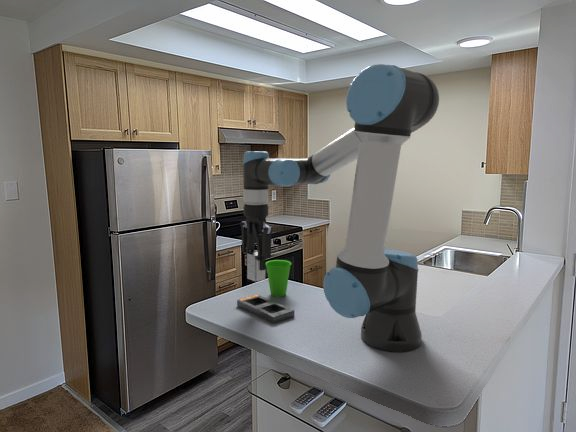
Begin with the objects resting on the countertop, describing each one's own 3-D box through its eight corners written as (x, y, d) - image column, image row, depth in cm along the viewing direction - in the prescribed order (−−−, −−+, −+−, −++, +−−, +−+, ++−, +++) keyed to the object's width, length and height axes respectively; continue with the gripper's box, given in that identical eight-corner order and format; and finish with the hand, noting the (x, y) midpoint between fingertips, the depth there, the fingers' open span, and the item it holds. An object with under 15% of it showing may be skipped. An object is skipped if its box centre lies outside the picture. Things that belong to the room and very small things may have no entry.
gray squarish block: (265, 278, 122) (265, 253, 120) (255, 281, 119) (254, 255, 118) (257, 275, 125) (257, 251, 123) (247, 278, 122) (247, 253, 121)
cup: (288, 299, 130) (288, 267, 128) (262, 297, 131) (261, 265, 130) (293, 290, 138) (293, 260, 137) (268, 289, 140) (268, 259, 139)
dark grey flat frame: (294, 316, 116) (294, 309, 115) (273, 323, 110) (273, 316, 110) (257, 300, 129) (257, 294, 129) (237, 306, 124) (237, 299, 123)
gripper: (284, 205, 114) (283, 282, 118) (249, 199, 127) (249, 269, 130) (263, 207, 109) (263, 287, 113) (229, 201, 122) (230, 274, 125)
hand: (255, 277), depth 122 cm, fingers closed on gray squarish block, 4 cm apart
